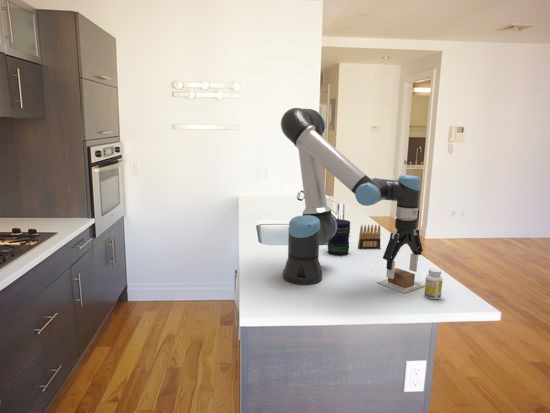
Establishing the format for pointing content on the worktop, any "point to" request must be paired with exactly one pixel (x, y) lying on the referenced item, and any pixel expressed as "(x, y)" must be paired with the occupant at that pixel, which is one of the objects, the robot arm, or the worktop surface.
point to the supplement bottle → (433, 284)
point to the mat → (401, 289)
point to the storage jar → (340, 239)
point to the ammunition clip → (369, 238)
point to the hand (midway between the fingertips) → (401, 274)
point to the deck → (402, 278)
